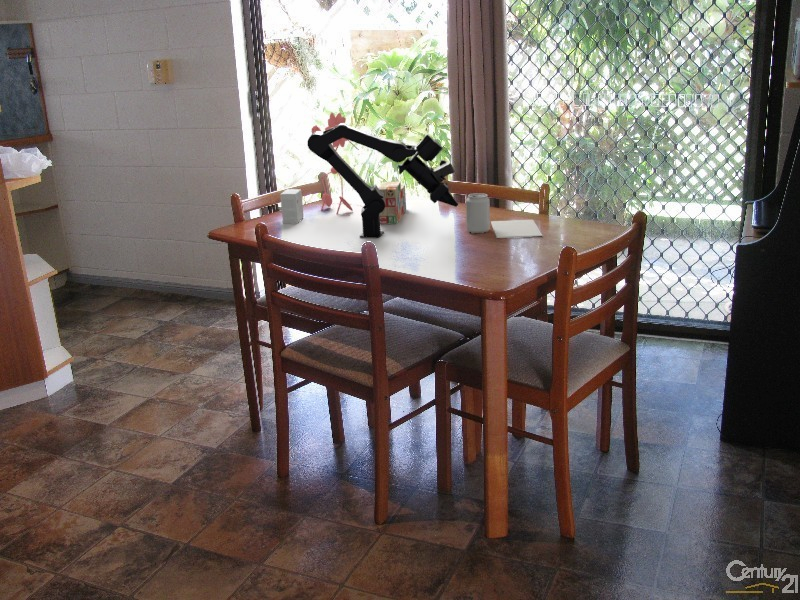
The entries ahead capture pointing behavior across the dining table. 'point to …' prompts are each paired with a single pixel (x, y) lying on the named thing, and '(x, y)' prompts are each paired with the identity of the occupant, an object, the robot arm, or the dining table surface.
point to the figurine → (333, 123)
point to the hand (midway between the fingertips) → (457, 205)
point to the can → (478, 213)
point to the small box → (291, 205)
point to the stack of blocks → (393, 202)
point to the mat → (515, 228)
